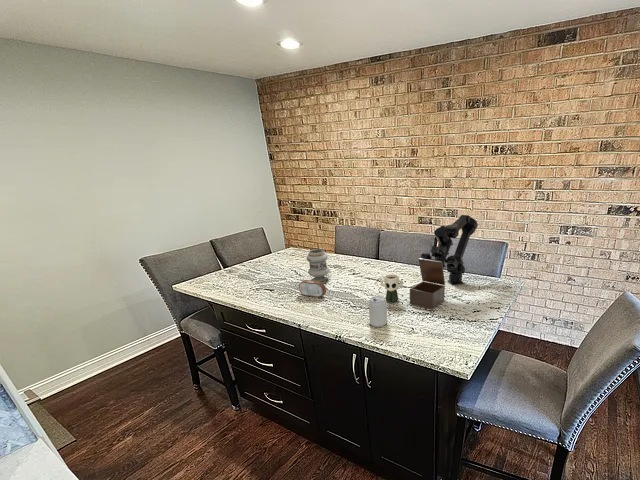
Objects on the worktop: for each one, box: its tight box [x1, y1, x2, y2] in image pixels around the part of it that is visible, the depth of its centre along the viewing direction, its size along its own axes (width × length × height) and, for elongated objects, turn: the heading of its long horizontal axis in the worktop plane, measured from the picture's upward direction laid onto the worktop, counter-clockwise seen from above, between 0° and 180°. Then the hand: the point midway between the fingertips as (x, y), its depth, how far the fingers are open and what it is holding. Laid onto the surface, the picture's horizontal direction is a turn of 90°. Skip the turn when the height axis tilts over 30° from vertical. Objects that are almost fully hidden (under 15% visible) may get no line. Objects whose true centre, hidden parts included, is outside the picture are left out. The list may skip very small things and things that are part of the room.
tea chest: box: [409, 281, 446, 310], centre depth 166 cm, size 13×13×8 cm
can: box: [368, 295, 388, 328], centre depth 144 cm, size 8×8×12 cm
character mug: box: [380, 273, 404, 303], centre depth 167 cm, size 11×7×13 cm, turn 83°
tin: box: [298, 279, 327, 298], centre depth 175 cm, size 15×3×8 cm, turn 71°
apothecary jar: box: [306, 248, 330, 284], centre depth 196 cm, size 12×12×18 cm
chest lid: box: [418, 257, 446, 286], centre depth 165 cm, size 13×13×1 cm
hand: (433, 274), depth 166 cm, fingers closed, pressing on chest lid
